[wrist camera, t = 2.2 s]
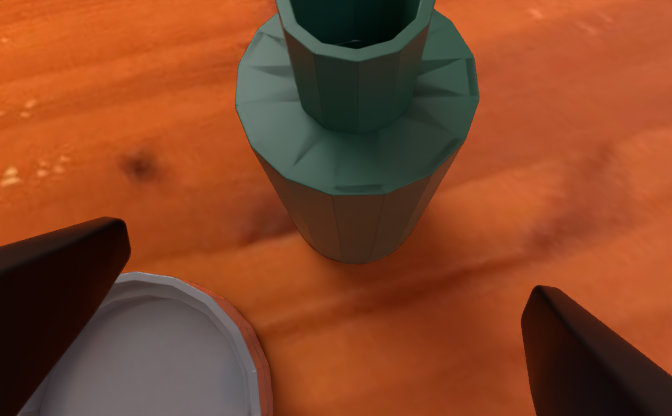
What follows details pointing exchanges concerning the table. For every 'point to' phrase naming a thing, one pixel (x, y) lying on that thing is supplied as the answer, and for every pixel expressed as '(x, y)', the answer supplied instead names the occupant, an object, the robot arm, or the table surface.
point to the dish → (159, 357)
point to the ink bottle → (356, 116)
